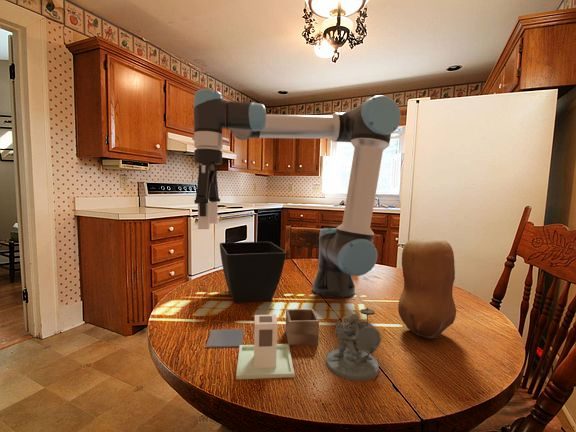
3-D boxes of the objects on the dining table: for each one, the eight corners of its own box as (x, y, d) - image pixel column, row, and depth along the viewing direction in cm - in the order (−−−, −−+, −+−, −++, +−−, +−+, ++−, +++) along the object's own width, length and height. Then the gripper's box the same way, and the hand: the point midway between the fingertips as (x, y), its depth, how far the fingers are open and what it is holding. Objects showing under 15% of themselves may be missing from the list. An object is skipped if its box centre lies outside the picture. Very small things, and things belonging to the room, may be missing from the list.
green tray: (288, 348, 67) (288, 343, 67) (294, 378, 56) (294, 373, 56) (239, 349, 66) (239, 345, 66) (235, 380, 55) (236, 375, 55)
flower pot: (285, 302, 94) (287, 251, 93) (226, 309, 88) (227, 253, 87) (269, 284, 112) (270, 241, 111) (218, 289, 106) (219, 242, 104)
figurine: (321, 352, 66) (323, 300, 65) (368, 351, 66) (370, 300, 66) (332, 383, 55) (335, 321, 54) (388, 381, 56) (391, 320, 55)
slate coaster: (243, 331, 74) (243, 329, 74) (241, 348, 66) (242, 345, 66) (211, 332, 73) (211, 329, 73) (205, 349, 65) (205, 346, 65)
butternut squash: (399, 319, 84) (404, 232, 82) (452, 329, 78) (459, 237, 76) (394, 340, 72) (400, 239, 70) (457, 355, 66) (465, 245, 64)
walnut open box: (312, 331, 75) (313, 309, 75) (318, 346, 68) (319, 321, 68) (285, 332, 74) (286, 309, 74) (288, 346, 67) (288, 321, 67)
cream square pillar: (275, 355, 63) (276, 314, 63) (276, 367, 59) (277, 323, 58) (253, 355, 63) (254, 314, 62) (253, 368, 58) (254, 324, 58)
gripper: (203, 154, 93) (204, 221, 95) (181, 141, 69) (182, 231, 70) (227, 155, 94) (227, 221, 96) (214, 142, 69) (214, 232, 71)
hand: (208, 226), depth 83 cm, fingers open, 13 cm apart
